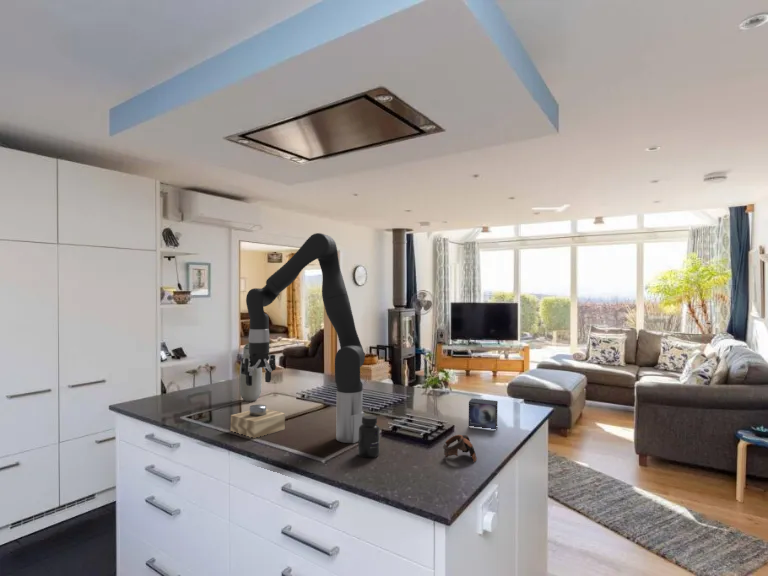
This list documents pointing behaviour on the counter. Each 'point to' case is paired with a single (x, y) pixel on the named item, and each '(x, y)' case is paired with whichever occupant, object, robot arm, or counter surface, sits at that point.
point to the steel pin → (257, 410)
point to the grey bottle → (255, 390)
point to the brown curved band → (459, 446)
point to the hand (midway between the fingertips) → (258, 383)
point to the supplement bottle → (369, 437)
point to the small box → (483, 413)
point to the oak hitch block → (257, 423)
